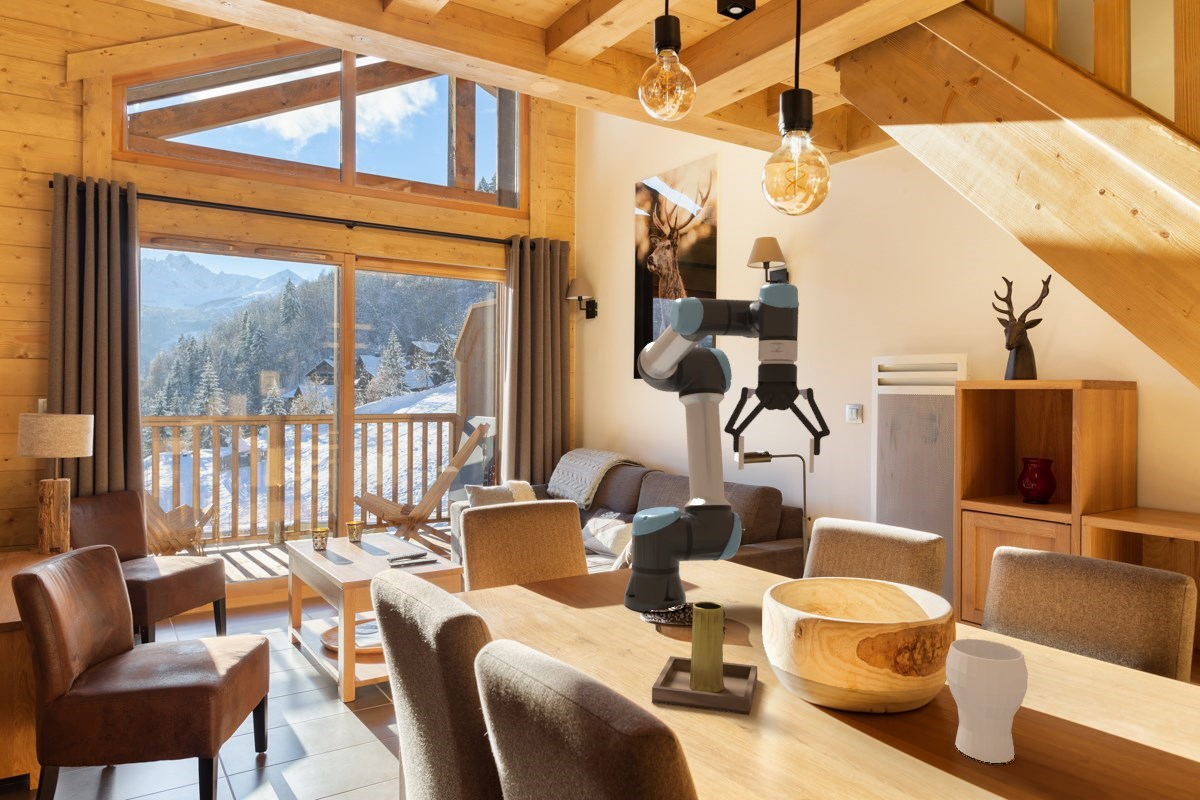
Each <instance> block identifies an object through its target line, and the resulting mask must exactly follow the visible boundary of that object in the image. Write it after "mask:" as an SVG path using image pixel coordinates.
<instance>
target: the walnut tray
mask: <svg viewBox="0 0 1200 800" xmlns="http://www.w3.org/2000/svg"><path fill="white" fill-rule="evenodd" d="M690 672H691V657H682V656H674V655H673V656H672V655H670V656H669V657H668V660H667V661H666V662H665V665H664V666H663V668H662V670H661V672H660V674H659V675H658V676H657V678H656V680H655V682H654V684H653V685H652V687H651V703H653V704H659V705H660V704H661V705H668V706H676V707H681V708H682V707H683V708H689V709H699V710H705V711H707V710H708V711H712V712H713V711H715V712H721V713H728V714H729V713H730V714H737V715H742V716H743V715H744V716H750V714H751V710H752V705H753V700H754V696H755V691H756V687H757V684H758V665H751V664H744V663H735V662H725V661H723V680H724V689H723V690H722V691H721V692H718V693H710V692H702V691H694V690H693V689H691V688H690V686H689V683H690Z"/></svg>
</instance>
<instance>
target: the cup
mask: <svg viewBox="0 0 1200 800" xmlns="http://www.w3.org/2000/svg"><path fill="white" fill-rule="evenodd" d="M1025 659H1026V658H1025V655H1024V654H1023V652H1022V651H1021V650H1019V649H1018V648H1015V647H1014V646H1011V645H1008V644H1005V643H1002V642H998V641H995V640H994V641H992V640H986V639H978V638H962V639H956V640H953V641H952V642H950V644H949V649H948V653H947V655H946V659H945V676H946V677H945V678H946V680H947V682H948V687H949V690H950V693H951V696H952V697H953V699H954V702H955V703H956V706H957V707H956V708H957V713H958V714H957V715H958V728H957V732H956V735H955V736H956V737H955V744H954V746H955V745H956V747H957V748H958V750H960V751H961V752H963V753H964V754H966V755H968V756H970V757H972V758H975V759H978V760H981V761H984V762H983V763H985V762H990V763H989V764H991V763H1001V762H1007V761H1010V760H1011V759H1013V758H1014V755H1015V747H1014V740H1013V735H1012V727H1013V721H1014V718H1015V715H1016V713H1017V711H1018V710H1019V709H1020V707H1021V706H1022V704H1023V701H1024V698H1025V696H1026V693H1027V690H1028V675H1029V673H1028V669H1027V665H1026V660H1025ZM956 747H955V748H956ZM958 750H957V751H958ZM1014 759H1015V758H1014ZM981 761H980V762H981Z"/></svg>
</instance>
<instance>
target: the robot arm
mask: <svg viewBox="0 0 1200 800" xmlns="http://www.w3.org/2000/svg"><path fill="white" fill-rule="evenodd" d="M798 290H799V289H798V287H797V286H796V285H794V284H791V283H770V284H769V283H768V284H764V285H762V286H760V288H759V294H758V297H757V298H758V300H757V299H756V300H755V299H754V300H753V299H752V300H749V299H747V300H746V299H722V298H721V299H720V298H703V297H702V298H701V297H695V296H693V297H692V296H691V297H690V296H689V297H679V298H676V299H675V300H674V301H673V303H672V306H671V309H670V315H669V316H670V317H669V319H670V320H669V321H670V322H669V323H670V324H669V325H668V326H667V328H666V329H665V330H664V331H663V332H662V333H661V334H660V336H659V337H657V339H656V340H655V341H652V342H650V343H647V345H646V346H645V347H644V348H643V349H642V350H641V352H640V353H639V355H638V359H637V364H636V365H637V370H638V373H639V375H640V377H641V378H642V379H643V381H644V382H645V383H646V384H647V385H648V386H650V387H652V388H653V389H655V390H658V391H660V392H661V391H662V392H664V393H665V392H667V393H678V400H679V402H680V403H681V404H683V406H684V407H685V420H686V421H685V423H686V424H685V426H686V427H685V428H686V441H687V442H686V444H687V445H686V446H687V448H686V449H687V463H688V465H687V466H688V483H689V485H688V487H689V499H688V501H687V503H685V504H684V512H681V510H680V508H678V507H675V506H656V507H652V508H646V509H643V510H640V511H638V512H636V513H635V514H634V516H633V519H632V525H631V526H632V527H631V533H630V534H631V573H630V575H629V578H628V582H627V585H626V587H625V592H624V593H623V594H624V595H623V604H624V606H625V607H626V608H629V609H631V610H634V611H636V612H637V611H639V612H645V611H650V610H665V609H668V608H671V607H674V606H678V605H682V604H685V603H686V604H687V602H686V601H687V596H686V592H685V589H684V585H683V583H682V579H681V576H680V562H691V561H692V562H694V561H695V562H697V561H698V562H699V561H702V562H703V561H713V562H714V561H715V562H716V561H717V562H718V561H722V560H723V561H724V560H730V559H732V558H733V557H734V556H735V555H736V554H737V553H738V549H739V547H740V545H741V539H742V529H743V528H742V521H741V520H740V519H741V517H740V516H739V513H737V512H735V511H732V504H731V503H730V502H729V501H728V500H727V499H726V497H725V485H724V483H725V482H724V467H723V452H722V437H721V435H722V432H721V420H720V419H721V418H720V404H721V403H722V401H723V400H724V399H725V394H726V393H727V392H729V391H730V388H731V385H732V380H733V379H732V375H733V374H732V369H731V363H730V361H729V358H728V356H727V355H726V353H725V352H724V351H723V350H722V349H720V348H713V347H707V346H704V347H703V346H702V347H699V346H698V347H697V345H699V343H701V341H703V339H705V338H707V337H708V336H721V337H722V336H723V337H725V336H726V337H728V336H730V337H743V338H747V339H752V338H753V339H758V349H757V350H758V351H757V352H758V353H757V355H758V356H757V358H758V359H757V360H758V362H760V363H759V365H758V367H757V370H758V371H757V387H756V388H750V387H747V386H744V387H742V388H741V392H740V398H739V400H738V402H737V403H736V406H735V408H734V409H733V412H732V414H731V415H730V417H729V419H728V420H727V423H726V425H725V427H724V429H723V430H724V432H725V434H729V435H731V436H732V437H733V438H732V439H733V441H732V442H733V443H732V446H733V449H732V450H733V453H738V464H737V465H738V471H739V470H741V471H742V470H743V469H744V468H745V467H744V464H745V463H744V462H745V436H744V435H743V436H742V433H744V431H745V430H746V429H747V427H749V426H750V424H752V422H753V421H754V420H755V419H756V418H757V416H758V415H759V414H760V413H761V412H762V411H763V410H764V409H766V410H768V411H775V410H778V411H787V410H788V409H790V411H791V412H792V413H793V414H794V415H795V416H796V418H797V419H798V420H799V421H800V422H801V424H802V425H803V426H804V427H805V428H806V430H807V431H809V433H810V434H811V435H812V438H811V437H810V438H809V474H810V473H811V474H813V473H814V469H815V467H814V465H815V459H814V458H815V456H820V454H821V439H823V438H825V437H828V436H830V434H831V431H830V428H829V427H828V424H827V423H826V421H825V419H824V416H823V415H822V413H821V411H820V409H819V407H818V404H817V403H816V400H815V396H814V389H813V387H812V388H811V387H808V388H804V389H801V388H800V389H799V388H798V365H797V364H796V363H795V362H797V361H798V350H799V349H798V347H799V346H798V344H799V342H798V341H799V340H798V333H799V332H798V331H799V306H800V302H799V291H798ZM753 395H755V396H756V397H757V399H758V401H759V402H758V403H757V405H756V406H754V408H753V410H752V411H750V413H749V414H748V415H747V416H746V417H745V418H744V419H743V421H742V422H741V423H740V424H739V425H738V426H737V427H736V428H734V426H735V425H736V423H737V421H738V420H739V417H740V415H741V413H742V412H743V410H744V408H745V406H746V404H747V401H748V400H749V399H752V397H753ZM799 396H801V397H802V399H804V400H807V402H808V405H809V407H810V409H811V410H812V413H813V415H814V417H815V419H816V420H817V423H818V424H819V427H820V429H821V430H820V431H818V429H817V428H816V427H815V426H814V425H813V424H812V423H811V421H810V420H809V419H808V417H807V416H806V415H805V414H804V413H803V412H802V411H801V409H800V408H799V407H798V406H797V404H796V403H795V401H796V400H797V399H798V397H799ZM645 613H646V612H645Z"/></svg>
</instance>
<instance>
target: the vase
mask: <svg viewBox="0 0 1200 800" xmlns="http://www.w3.org/2000/svg"><path fill="white" fill-rule="evenodd" d="M691 627H692V628H691V629H692V630H691V655H690V658H691V672H690V683H689V686H690V688H691V689H693V690H694V691H702V692H710V693H718V692H721V691H722V690H723V689H724V680H723V662H724V652H723V650H724V649H723V648H724V646H723V645H724V644H723V641H724V639H723V638H724V606H723V604H721V603H719V602H716V601H697V602H694V603H693V604H692V626H691Z"/></svg>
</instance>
